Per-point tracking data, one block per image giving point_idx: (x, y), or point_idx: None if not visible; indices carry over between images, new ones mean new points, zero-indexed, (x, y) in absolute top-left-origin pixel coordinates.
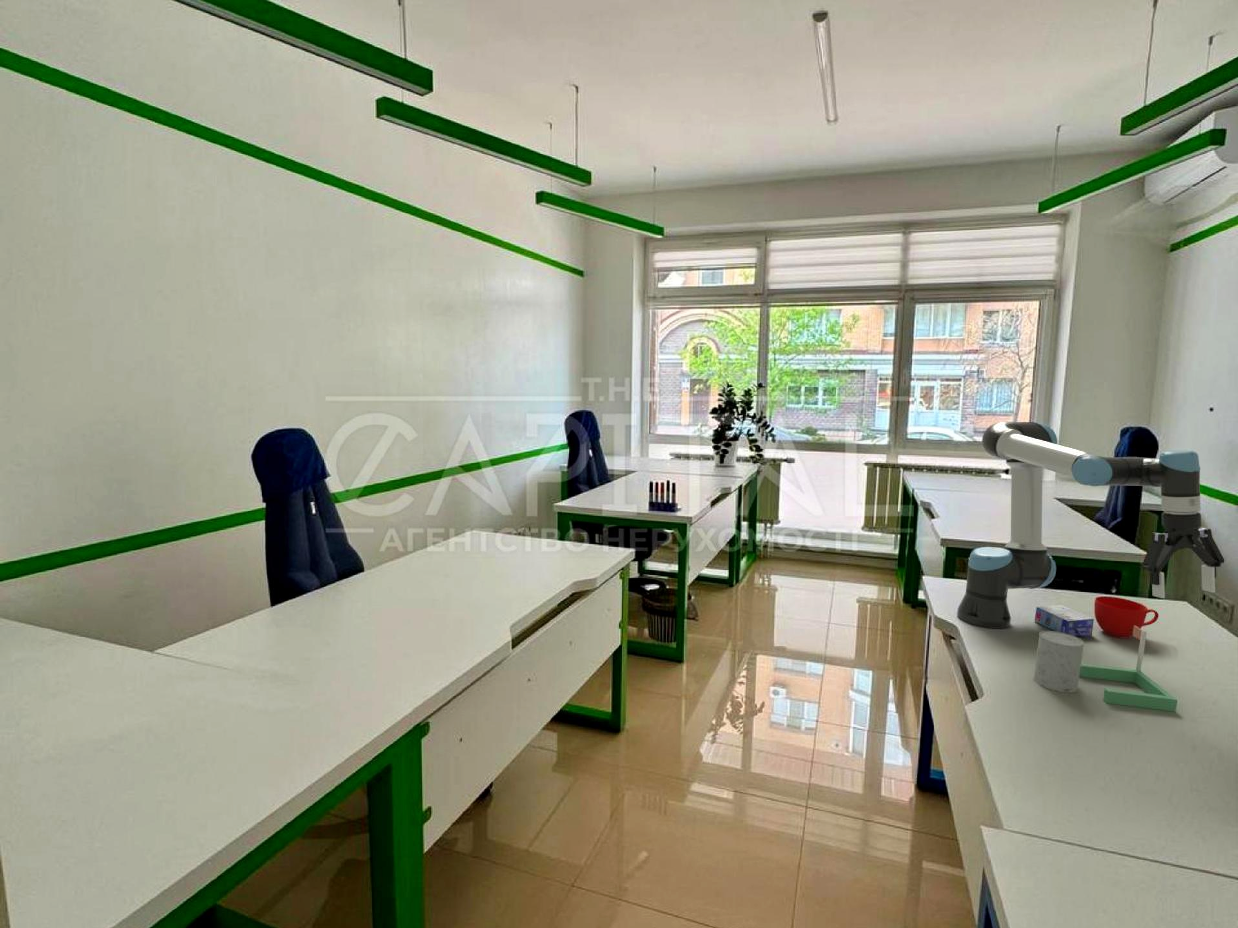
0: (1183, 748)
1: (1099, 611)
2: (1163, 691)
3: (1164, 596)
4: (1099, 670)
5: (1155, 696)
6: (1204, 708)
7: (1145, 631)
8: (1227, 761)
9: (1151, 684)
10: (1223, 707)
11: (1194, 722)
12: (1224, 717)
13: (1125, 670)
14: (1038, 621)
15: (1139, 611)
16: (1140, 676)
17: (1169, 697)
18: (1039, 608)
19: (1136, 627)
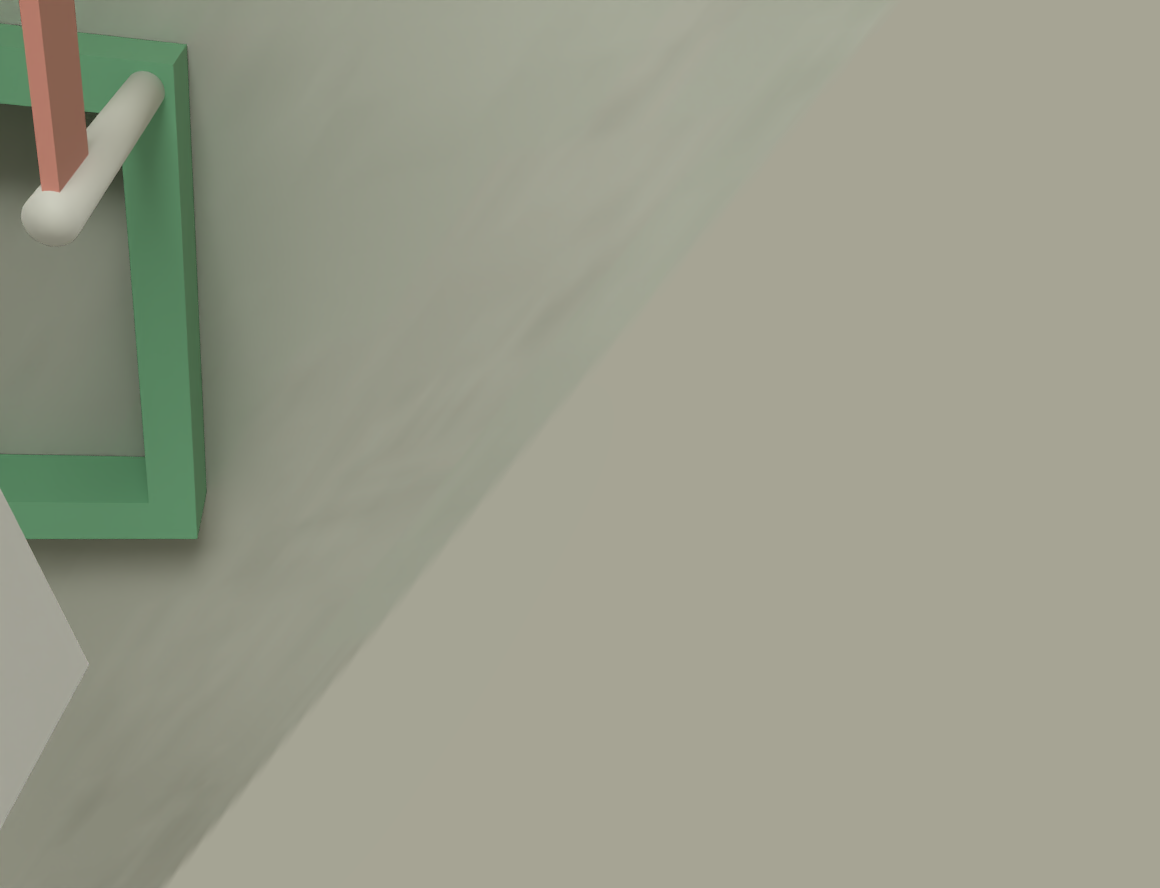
0: (28, 828)
1: None
2: (166, 439)
3: (71, 684)
4: None
5: (62, 527)
6: (429, 406)
7: (63, 230)
8: (180, 862)
9: (136, 336)
10: (566, 365)
11: (246, 586)
12: (471, 489)
13: (22, 97)
14: None
15: None
16: (125, 181)
17: (159, 518)
18: None
19: (24, 32)
